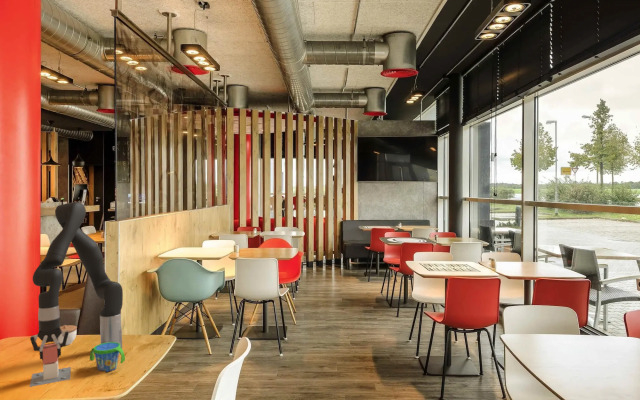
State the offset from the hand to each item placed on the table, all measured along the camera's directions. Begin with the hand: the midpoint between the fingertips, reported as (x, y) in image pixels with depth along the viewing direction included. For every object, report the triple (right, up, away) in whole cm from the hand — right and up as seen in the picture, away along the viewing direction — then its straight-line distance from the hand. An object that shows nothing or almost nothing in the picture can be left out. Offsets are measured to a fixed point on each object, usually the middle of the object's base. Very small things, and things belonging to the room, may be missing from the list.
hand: (50, 358), depth 184 cm
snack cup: (+19, -8, +9) cm, 23 cm away
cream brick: (0, -8, 0) cm, 8 cm away
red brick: (0, -1, 0) cm, 1 cm away
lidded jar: (-18, -8, +42) cm, 46 cm away
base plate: (0, -9, 0) cm, 9 cm away
